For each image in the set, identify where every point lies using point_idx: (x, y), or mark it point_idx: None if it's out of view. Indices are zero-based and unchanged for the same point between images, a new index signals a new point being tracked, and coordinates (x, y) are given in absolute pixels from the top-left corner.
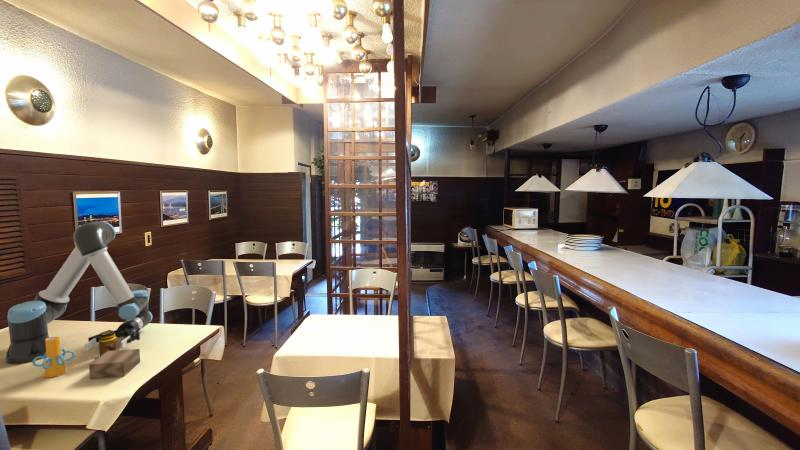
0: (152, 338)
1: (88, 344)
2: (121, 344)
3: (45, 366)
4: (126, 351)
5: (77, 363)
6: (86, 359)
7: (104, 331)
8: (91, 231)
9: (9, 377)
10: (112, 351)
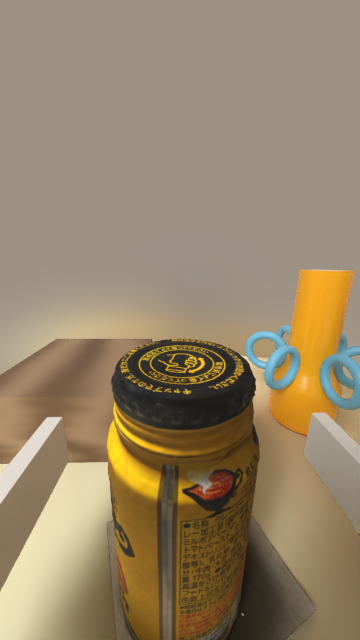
0: None
1: (324, 440)
2: (60, 436)
3: (276, 344)
4: (39, 382)
5: (333, 505)
6: (356, 580)
7: (240, 378)
8: None
9: None
10: (107, 389)
